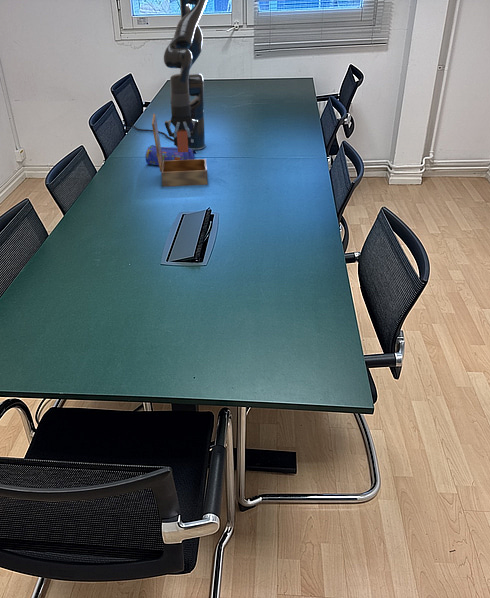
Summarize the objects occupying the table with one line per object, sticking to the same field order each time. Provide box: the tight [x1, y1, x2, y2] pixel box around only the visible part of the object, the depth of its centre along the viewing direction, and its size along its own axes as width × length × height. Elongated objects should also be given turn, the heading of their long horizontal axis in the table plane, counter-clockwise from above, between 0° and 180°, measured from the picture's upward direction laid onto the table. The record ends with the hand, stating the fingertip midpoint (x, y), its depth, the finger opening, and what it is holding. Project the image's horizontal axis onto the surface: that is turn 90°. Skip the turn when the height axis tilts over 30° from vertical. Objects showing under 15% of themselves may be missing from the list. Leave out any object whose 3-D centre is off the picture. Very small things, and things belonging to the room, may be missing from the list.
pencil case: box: [145, 144, 197, 166], centre depth 242 cm, size 22×9×10 cm, turn 71°
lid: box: [151, 113, 163, 173], centre depth 221 cm, size 19×14×1 cm
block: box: [177, 129, 188, 152], centre depth 223 cm, size 4×4×8 cm
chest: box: [160, 158, 209, 188], centre depth 229 cm, size 19×14×7 cm
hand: (182, 145), depth 225 cm, fingers closed on block, 4 cm apart
